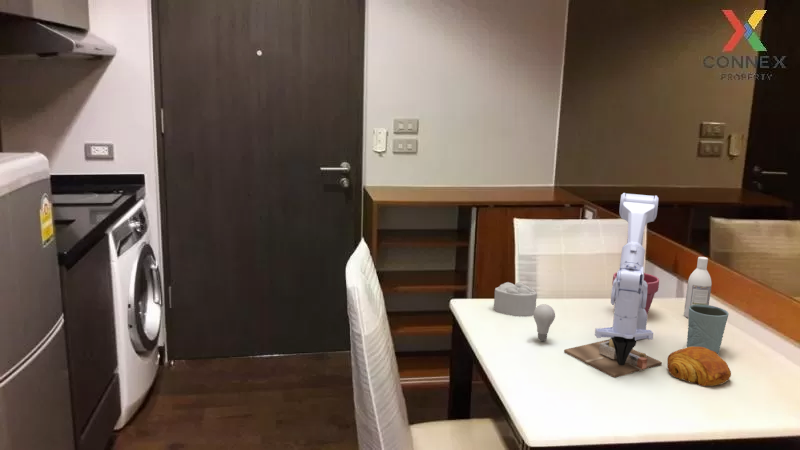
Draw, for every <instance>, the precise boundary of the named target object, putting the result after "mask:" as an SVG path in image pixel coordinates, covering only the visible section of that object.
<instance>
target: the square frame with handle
mask: <svg viewBox="0 0 800 450" xmlns="http://www.w3.org/2000/svg"><path fill="white" fill-rule="evenodd" d="M599 353H600V354H602V355H605V356H607V357H609V358H611V359H617V356H616V351H615V348H613V347H611V346H609V341H607V342H603V343H600V348H599ZM626 362H628V363H630V364H633V365H635V366H637V367H639V368H641V369H644V368H646V367H647V359H646V358H644V357H639V356H637V355H634V354H632V353H629V355H628V357H627V359H626Z"/></svg>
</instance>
